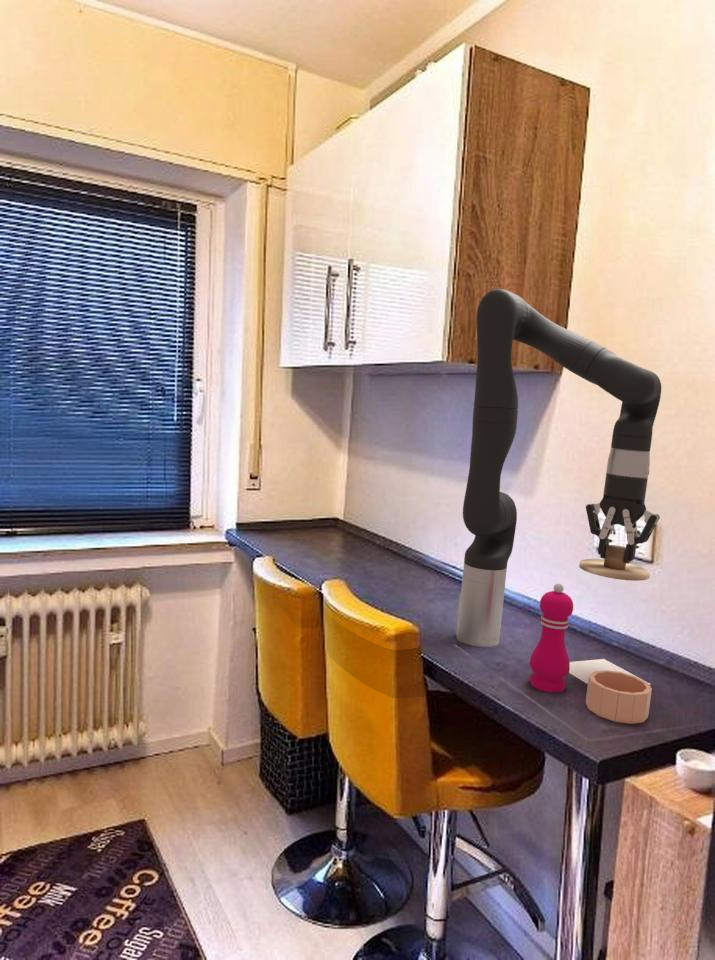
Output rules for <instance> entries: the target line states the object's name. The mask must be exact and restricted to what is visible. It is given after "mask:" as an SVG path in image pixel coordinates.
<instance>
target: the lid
mask: <svg viewBox="0 0 715 960" xmlns="http://www.w3.org/2000/svg"><path fill="white" fill-rule="evenodd" d="M625 550H626V546H621V545H616V544H615V545H614V544H609V545H607V546H606V551H605V559H604V558H586V559H585V558H584V559H581V560H580V561H579V565H578V566H579V568H580V569H581V570H582V571H584V572H587V573H589V574H592V575H597V576H600V577H603V578H608V579H615V580H620V581H634V582H635V581H637V582H639V581H647V580H649V579H650V577H651V572H650V571H649V570H648V569H647V568H644V567H641V566H638V565H635V564H632V563H628V564H627V563H624V558H625Z"/></svg>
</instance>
